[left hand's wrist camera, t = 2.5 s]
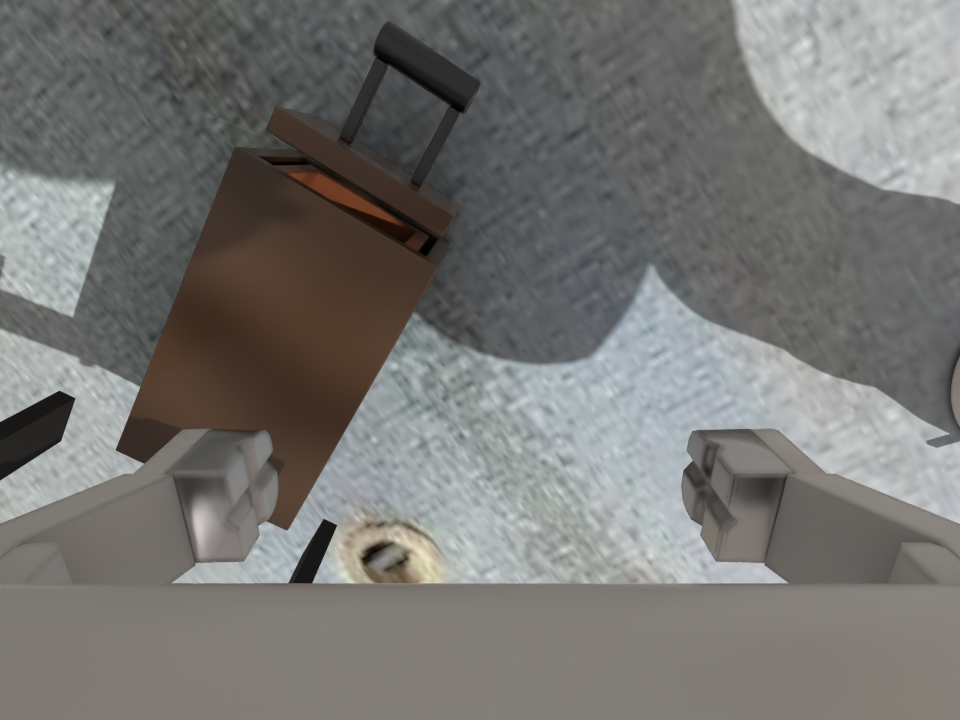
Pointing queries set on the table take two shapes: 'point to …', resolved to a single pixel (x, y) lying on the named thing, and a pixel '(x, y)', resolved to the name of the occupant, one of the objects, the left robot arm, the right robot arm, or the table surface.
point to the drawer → (368, 165)
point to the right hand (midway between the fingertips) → (196, 480)
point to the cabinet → (280, 321)
